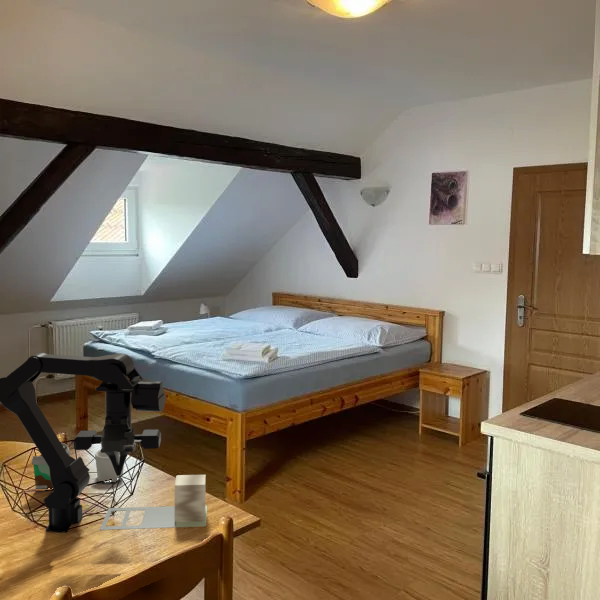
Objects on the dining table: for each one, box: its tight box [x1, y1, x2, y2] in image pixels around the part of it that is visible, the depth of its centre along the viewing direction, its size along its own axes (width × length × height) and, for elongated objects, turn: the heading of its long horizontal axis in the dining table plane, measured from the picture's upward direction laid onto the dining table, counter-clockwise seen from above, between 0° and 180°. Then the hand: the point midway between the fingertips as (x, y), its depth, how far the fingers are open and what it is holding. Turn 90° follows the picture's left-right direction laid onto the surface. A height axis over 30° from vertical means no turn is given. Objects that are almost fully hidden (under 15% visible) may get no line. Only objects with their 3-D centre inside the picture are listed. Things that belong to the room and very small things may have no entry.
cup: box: [94, 449, 125, 484], centre depth 171 cm, size 11×8×8 cm
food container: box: [31, 442, 71, 490], centre depth 165 cm, size 12×6×10 cm, turn 168°
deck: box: [99, 504, 208, 531], centre depth 146 cm, size 24×11×2 cm, turn 97°
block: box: [174, 474, 207, 522], centre depth 146 cm, size 7×6×9 cm
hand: (118, 475), depth 141 cm, fingers closed
